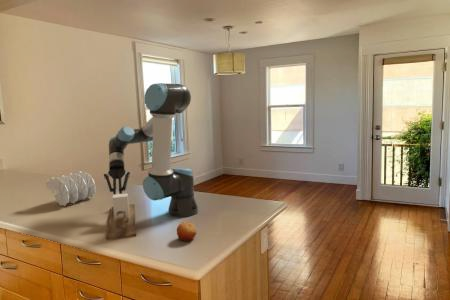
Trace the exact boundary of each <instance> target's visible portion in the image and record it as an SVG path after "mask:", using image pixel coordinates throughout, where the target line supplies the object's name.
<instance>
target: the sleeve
mask: <svg viewBox="0 0 450 300" xmlns="http://www.w3.org/2000/svg"><path fill="white" fill-rule="evenodd" d="M128 205H129V195H128V193H127V192H126V193H122V194H115V195H113V194H112V206H113V210H114V222H115V219H117V216H118V211H125V216H124V218H125V221H129V206H128Z"/></svg>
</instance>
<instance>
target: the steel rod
mask: <svg viewBox="0 0 450 300" xmlns="http://www.w3.org/2000/svg"><path fill="white" fill-rule="evenodd" d="M124 216H125V211H119V212H118V216H117V219H118V218H124Z"/></svg>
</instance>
